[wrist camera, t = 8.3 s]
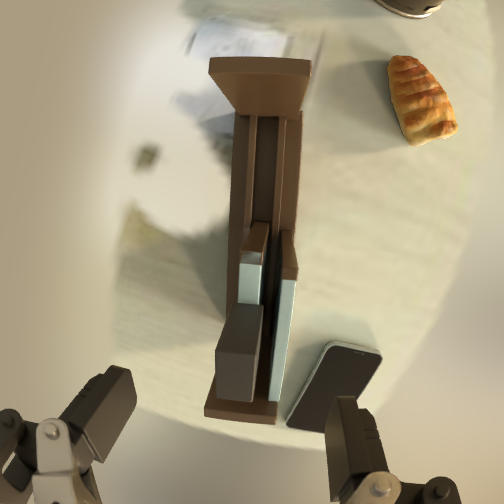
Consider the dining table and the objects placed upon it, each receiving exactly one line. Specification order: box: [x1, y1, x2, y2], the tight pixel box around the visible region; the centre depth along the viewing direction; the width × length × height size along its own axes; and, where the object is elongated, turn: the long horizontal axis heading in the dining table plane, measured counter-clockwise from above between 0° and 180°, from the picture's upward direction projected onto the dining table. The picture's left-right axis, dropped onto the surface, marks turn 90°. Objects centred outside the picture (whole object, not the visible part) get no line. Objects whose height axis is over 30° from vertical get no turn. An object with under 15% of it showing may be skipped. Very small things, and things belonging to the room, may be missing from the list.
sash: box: [215, 221, 269, 402], centre depth 19 cm, size 2×9×15 cm, turn 177°
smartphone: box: [285, 341, 383, 434], centre depth 31 cm, size 7×1×15 cm
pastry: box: [387, 55, 458, 146], centre depth 21 cm, size 9×7×4 cm
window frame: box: [204, 57, 312, 425], centre depth 21 cm, size 6×22×14 cm, turn 177°
